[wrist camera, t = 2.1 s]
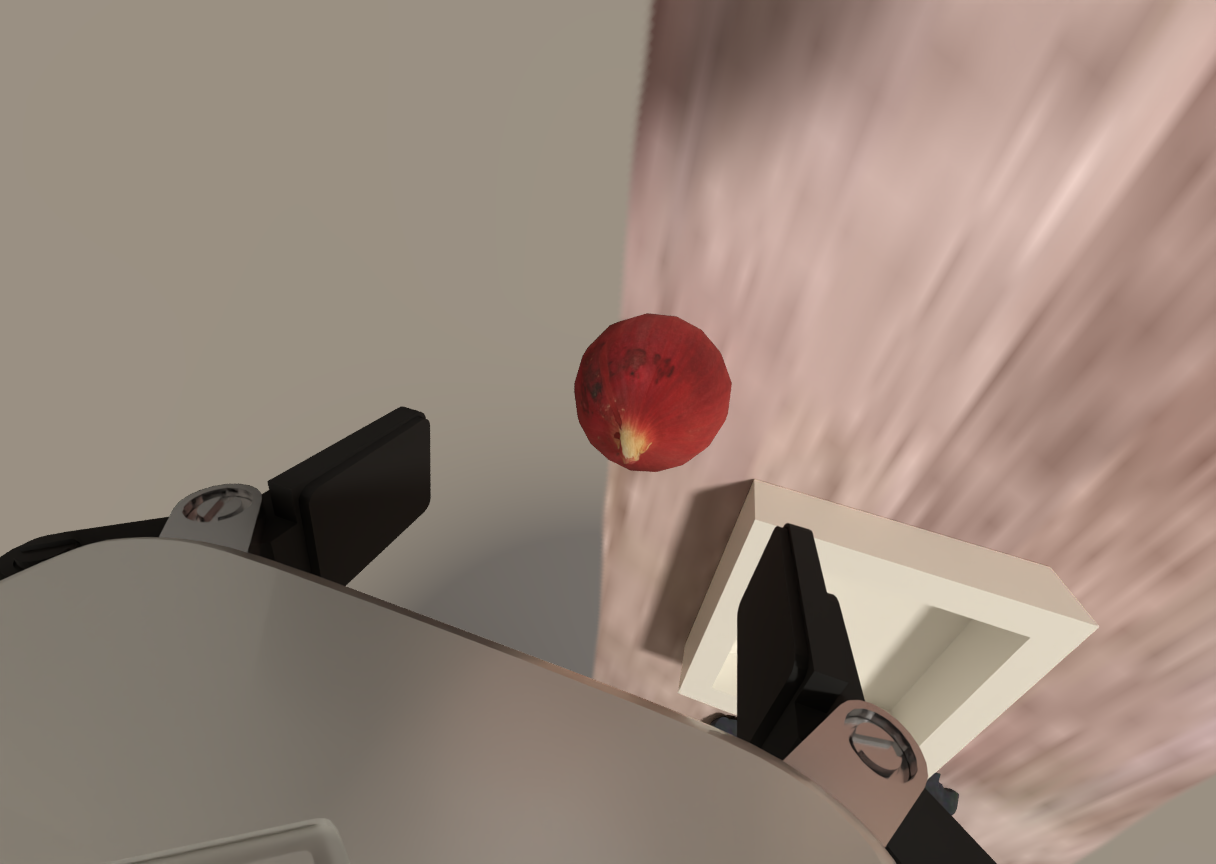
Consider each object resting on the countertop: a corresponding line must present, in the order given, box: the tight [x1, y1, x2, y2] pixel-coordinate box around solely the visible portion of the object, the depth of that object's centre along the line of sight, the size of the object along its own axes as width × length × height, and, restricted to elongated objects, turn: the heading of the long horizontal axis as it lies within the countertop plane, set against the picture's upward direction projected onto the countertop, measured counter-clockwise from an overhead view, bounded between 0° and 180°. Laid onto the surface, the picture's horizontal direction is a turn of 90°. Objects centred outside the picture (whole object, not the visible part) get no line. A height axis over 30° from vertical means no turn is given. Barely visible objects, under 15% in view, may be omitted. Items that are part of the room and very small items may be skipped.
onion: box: [574, 313, 732, 472], centre depth 17 cm, size 6×6×8 cm
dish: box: [678, 479, 1099, 780], centre depth 22 cm, size 13×13×3 cm
